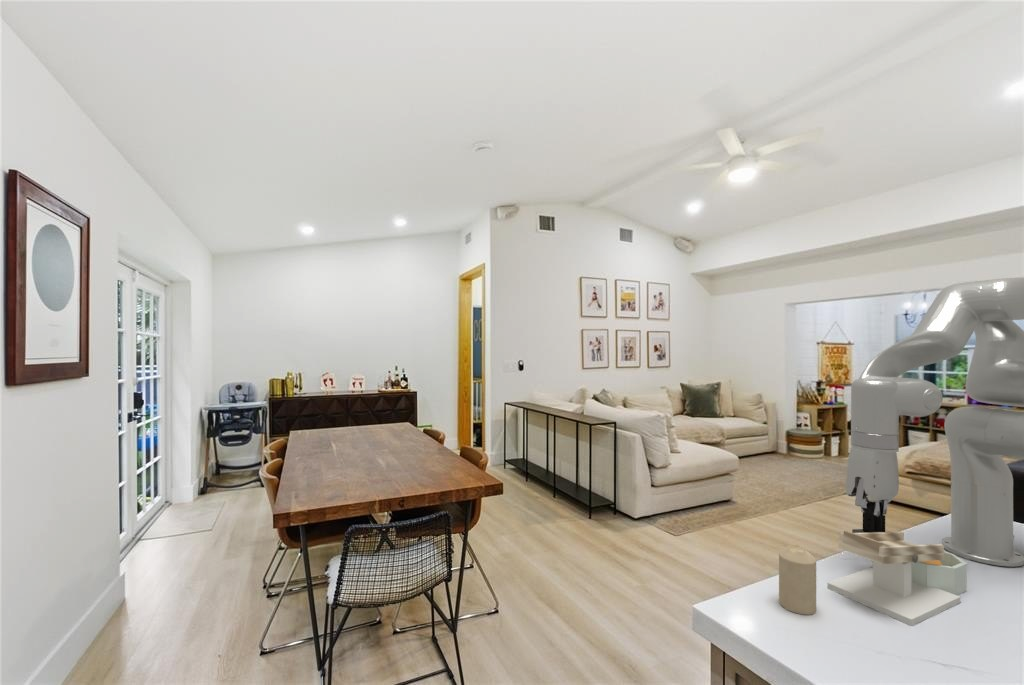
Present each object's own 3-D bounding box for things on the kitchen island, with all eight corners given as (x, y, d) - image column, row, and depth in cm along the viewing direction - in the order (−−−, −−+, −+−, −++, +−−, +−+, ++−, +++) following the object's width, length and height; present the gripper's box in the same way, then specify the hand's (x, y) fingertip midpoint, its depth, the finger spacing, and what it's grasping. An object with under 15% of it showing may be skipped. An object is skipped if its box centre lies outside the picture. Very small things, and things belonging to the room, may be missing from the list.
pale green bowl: (909, 564, 96) (909, 539, 96) (974, 587, 87) (974, 560, 87) (881, 574, 92) (881, 549, 92) (947, 600, 83) (947, 571, 83)
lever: (867, 535, 97) (868, 519, 97) (944, 560, 85) (945, 542, 86) (807, 536, 88) (808, 519, 89) (883, 565, 77) (885, 544, 77)
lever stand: (876, 570, 94) (876, 536, 94) (960, 602, 82) (960, 563, 82) (827, 587, 87) (827, 551, 87) (911, 625, 75) (911, 583, 75)
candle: (822, 617, 78) (822, 556, 78) (785, 613, 79) (785, 553, 79) (808, 599, 83) (808, 542, 83) (774, 596, 84) (774, 540, 84)
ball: (911, 553, 91) (911, 573, 91) (937, 561, 87) (937, 583, 87) (922, 549, 93) (922, 570, 93) (948, 558, 89) (947, 579, 89)
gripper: (874, 435, 100) (873, 521, 100) (831, 440, 93) (831, 532, 93) (916, 441, 93) (916, 534, 93) (874, 447, 87) (873, 547, 86)
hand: (873, 533), depth 93 cm, fingers closed
